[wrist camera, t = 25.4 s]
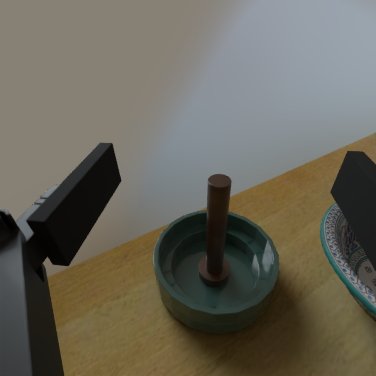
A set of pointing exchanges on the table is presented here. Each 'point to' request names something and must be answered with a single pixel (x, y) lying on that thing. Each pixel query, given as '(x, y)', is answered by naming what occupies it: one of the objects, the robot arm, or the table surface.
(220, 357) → the table surface
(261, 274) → the stir bowl
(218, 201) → the spurtle
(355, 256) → the bowl
